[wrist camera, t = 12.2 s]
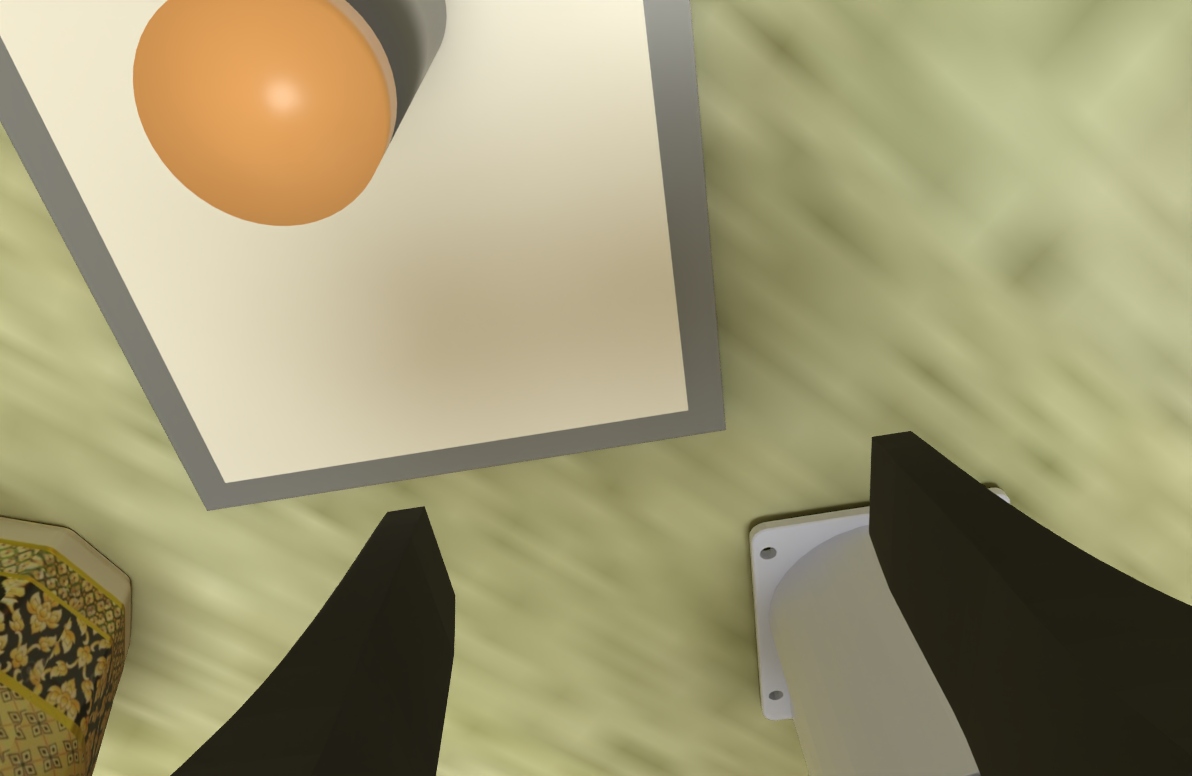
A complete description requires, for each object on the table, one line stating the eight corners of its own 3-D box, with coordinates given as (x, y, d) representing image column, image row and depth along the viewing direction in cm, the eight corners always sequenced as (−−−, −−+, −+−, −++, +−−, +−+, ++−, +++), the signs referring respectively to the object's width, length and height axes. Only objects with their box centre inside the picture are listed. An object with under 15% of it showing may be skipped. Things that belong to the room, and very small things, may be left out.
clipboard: (721, 417, 24) (732, 451, 23) (213, 497, 25) (195, 534, 23) (635, -604, 13) (645, -655, 12) (-265, -425, 14) (-352, -456, 12)
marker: (461, 72, 18) (412, 206, 11) (324, 96, 18) (193, 242, 11) (425, -89, 16) (342, -45, 10) (274, -61, 16) (87, 1, 10)
